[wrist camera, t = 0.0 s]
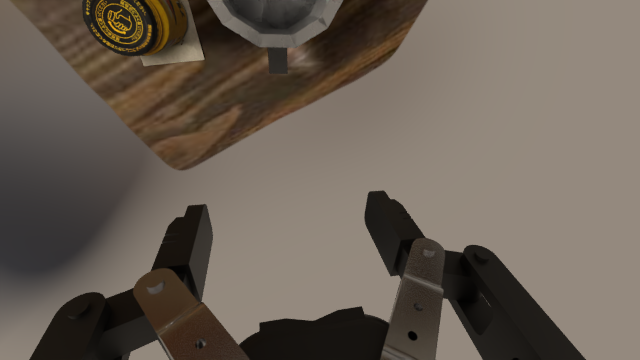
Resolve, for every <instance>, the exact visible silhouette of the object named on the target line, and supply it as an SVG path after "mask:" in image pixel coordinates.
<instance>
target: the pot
mask: <svg viewBox="0 0 640 360" xmlns="http://www.w3.org/2000/svg"><path fill="white" fill-rule="evenodd" d="M207 1H208V2H209V4H210V6H211V7H212V9H213V10H214V12H215V13H216V15H217V16H218V18H219V20H220V21H221V23H222V24H223V25H224V26H226V27H228V28H229V29H231V30H232V31H234V32H236V33H237V34H239V35H240V36H242V37H244V38H245V39H247V40H249V41H250V42H252V43H253V44H255V45H257V46H258V47H268V60H269V73H277V74H288V72H287V48H297V47H298V46H300V45H301V44H303V43H305V42H306V41H308V40H309V39H311V38H313V37H314V36H316V35H318V34H319V33H321V32H322V31H324V30H326V29H327V28H328V27H329V25H330V23H331V21H332V20H333V18H334V16H335V14H336V12H337V11H338V9H339V7H340V5H341V3H342V2H343V0H207Z"/></svg>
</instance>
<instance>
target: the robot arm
mask: <svg viewBox="0 0 640 360" xmlns="http://www.w3.org/2000/svg"><path fill="white" fill-rule="evenodd" d="M365 224H366V227H367V229H368V231H369V233H370V235H371V237H372V239H373V241H374V243H375V245H376V247H377V249H378V251H379V253H380V255H381V258H382V259H383V262H384V264H385V265H386V267H387V270H388V272H389V274H390V276H396V275H399V276H400V278H401V282H400V285H399V288H398V292H397V295H396V298H395V302H394V305H393V309H392V312H391V316H390V319H389V322H386V321H384V320H382V319H380V318H378V317H375V316H371V315H366V314H364V312H363V309H362V307H355V308H349V309H342V310H337V311H335V312H333V313H331V314H328V315H326V316H324V317H322V318H319V319H317V320H315V321H306V320H296V319H280V320H274V321H268V322H261V323H260V331H259V332H257V333H255V334H253V335H251V336H250V337H248V338H247V339H245V340H244V341H243V342H241V343H240V344H239V345H238V344H237V343H236V341H235V340H234V339H233V338H232V337H231V335H230V334H229V333H228V332H227V331H226V329H225V328H224V327H223V326H222V324H221V323H220V322H219V321H218V320H217V318H216V317H215V316H214V315H213V313H212V312H211V311H210V310H209V308H208V307H207V306H206V305H205V304H204V303H203V302H201V301H202V295H203V289H204V285H205V279H206V274H207V268H208V263H209V257H210V251H211V246H212V240H213V234H212V233H213V232H212V227H211V222H210V218H209V213H208V209H207V206H206V204H203V205H191V206H188V207H187V210H186V213H185V216H184V217H178V218H176V219H175V220H174V221H173V222H172V223H171V224H170V225H169V226H168V228H167V231H166V233H165V237H164V239H163V241H162V244H161V246H160V249H159V251H158V254H157V256H156V259H155V262H154V264H153V267H152V269H151V271H150V272H149V273H147V274H145V275H144V276H143V277H141V278H140V279H139V280H138V281H137V283H136V284H135V286H134V288H132V289H130V290H128V291H125V292H123V293H120V294H117V295H114V296H112V297H109V298H106V299H105V297H104V296H103V295H102V294H100V293H97V292H91V293H85V294H83V295H80V296H77V297H75V298H73V299H72V300H70V301H69V302H67V303H66V304H64V305H63V306H62V307H61V308H60V309H59V310H58V312H57V313H56V314H55V316H54V318H53V319H52V321H51V323H50V325H49V326H48V328H47V330H46V332H45V333H44V335H43V337H42V339H41V340H40V342H39V344H38V346H37V347H36V349H35V351H34V353H33V354H32V356H31V358H30V359H29V360H128V359H129V356H130V352H131V351H133V350H136V349H138V348H140V347H142V346H144V345H146V344H149V343H151V342H153V341H155V340H158V341H159V343H160V345H161V346H162V348H163V350H164V351H165V353H166V355H167V356H168V358H169V360H435V357H436V348H437V341H438V333H439V325H440V317H441V309H442V300H443V298H446V299H448V300H449V302H450V303H451V305H452V307H453V308H454V310H455V312H456V314H457V315H458V317H459V319H460V321H461V322H462V324H463V326H464V328H465V329H466V331H467V333H468V335H469V336H470V338H471V340H472V341H473V343H474V345H475V347H476V348H477V350H478V352H479V354H480V355H481V357H482V359H483V360H586V359H585V358H584V357H583V356H582V355H581V353H580V352H579V351H578V350H577V349H576V348H575V347H574V345H573V344H572V343H571V342H570V341H569V340H568V338H567V337H566V336H565V335H564V334H563V333H562V331H561V330H560V329H559V328H558V327H557V326H556V325H555V323H554V322H553V321H552V320H551V319H550V318H549V316H548V315H547V314H546V313H545V312H544V311H543V310H542V308H541V307H540V306H539V305H538V304H537V303H536V301H535V300H534V299H533V298H532V297H531V296H530V295H529V293H528V292H527V291H526V290H525V289H524V287H523V286H522V285H521V284H520V283H519V282H518V281H517V279H516V278H515V277H514V276H513V275H512V274H511V272H510V271H509V270H508V269H507V268H506V267H505V265H504V264H503V263H502V262H501V261H500V260H499V258H498V257H497V256H496V255H495V254H494V253H493V252H491V251H490V250H488V249H487V248H484V247H482V246H478V245H469V246H467V247H466V248H465V249H464V251H463V253H460V252H453V251H447V250H444V249H443V247H442V246H441V245H440V244H439V243H437V242H435V241H434V240H431V239H428V238H425V236H424V235H423V233H422V232H421V230H420V229H419V228H418V226H417V225H416V223H415V222H414V221H413V219H411V216H410V215H409V214H408V213H407V211H406V209H405V208H404V207H403V205H401V204H400V203H399V202H397V201H396V200H395V199H390V198H389V197H388V195H387V194H386V192H385V191H371V192H369V193H368V198H367V203H366V209H365ZM483 296H484V297H483ZM485 299H486V300H487V301H486V300H485ZM200 302H201V303H200ZM487 302H488V303H489V304H488V303H487ZM490 306H491V307H490Z"/></svg>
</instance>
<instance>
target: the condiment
mask: <svg viewBox="0 0 640 360" xmlns="http://www.w3.org/2000/svg"><path fill="white" fill-rule="evenodd" d="M82 8H83V18H84V21H85V23H86V25H87V27H88V29H89V31H90V32H91V34H92V35H93V36H94V38H95V39H96V40H97V41H98V42H99V43H100V44H102V45H103V46H105V47H106V48H108V49H109V50H112V51H113V52H115V53H117V54H121V55H124V56H140V57H141V60H142V62H143V65H144V66H150V65H158V64H167V63H177V62H186V61H196V60H205V59H204V56H203V52H202V49H201V45H200V42H199V38H198V35H197V31H196V27H195V24H194V20H193V16H192V13H191V9H190V6H189V2H188V0H83V1H82ZM182 40H184V41H183V42H182ZM181 43H183V44H182V45H181Z"/></svg>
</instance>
